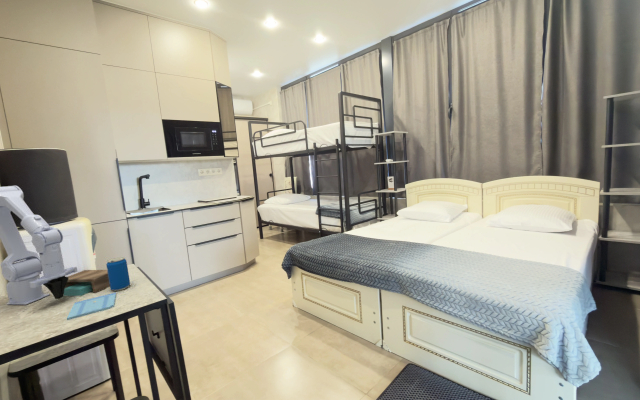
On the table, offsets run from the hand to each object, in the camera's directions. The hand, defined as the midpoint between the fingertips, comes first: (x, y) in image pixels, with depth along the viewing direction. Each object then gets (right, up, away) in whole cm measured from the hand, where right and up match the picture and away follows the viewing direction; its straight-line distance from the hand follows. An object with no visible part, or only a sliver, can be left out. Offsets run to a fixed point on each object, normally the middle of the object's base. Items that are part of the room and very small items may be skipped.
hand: (59, 297), depth 102 cm
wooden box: (+2, 0, +12) cm, 12 cm away
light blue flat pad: (+17, -2, -5) cm, 18 cm away
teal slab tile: (+2, -1, +10) cm, 10 cm away
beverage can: (+17, +1, +9) cm, 19 cm away
